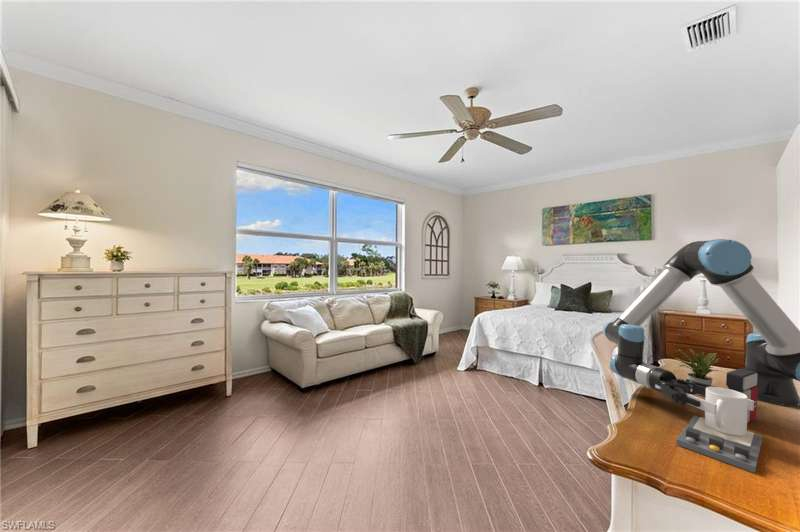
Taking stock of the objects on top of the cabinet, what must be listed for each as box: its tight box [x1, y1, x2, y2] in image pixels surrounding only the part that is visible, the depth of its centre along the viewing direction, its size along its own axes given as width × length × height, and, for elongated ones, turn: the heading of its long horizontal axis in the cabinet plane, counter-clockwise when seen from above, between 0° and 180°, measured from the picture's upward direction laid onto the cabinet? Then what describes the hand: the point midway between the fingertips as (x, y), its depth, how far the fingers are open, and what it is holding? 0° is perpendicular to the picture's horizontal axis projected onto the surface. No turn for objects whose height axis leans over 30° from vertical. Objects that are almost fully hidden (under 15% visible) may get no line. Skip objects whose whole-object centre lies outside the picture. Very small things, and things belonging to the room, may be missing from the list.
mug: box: [704, 386, 748, 436], centre depth 90 cm, size 12×8×10 cm
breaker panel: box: [676, 415, 763, 474], centre depth 87 cm, size 22×14×4 cm, turn 129°
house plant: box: [674, 348, 723, 397], centre depth 121 cm, size 14×14×16 cm
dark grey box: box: [725, 367, 758, 424], centre depth 100 cm, size 11×4×15 cm, turn 117°
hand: (734, 407), depth 87 cm, fingers open, 13 cm apart
